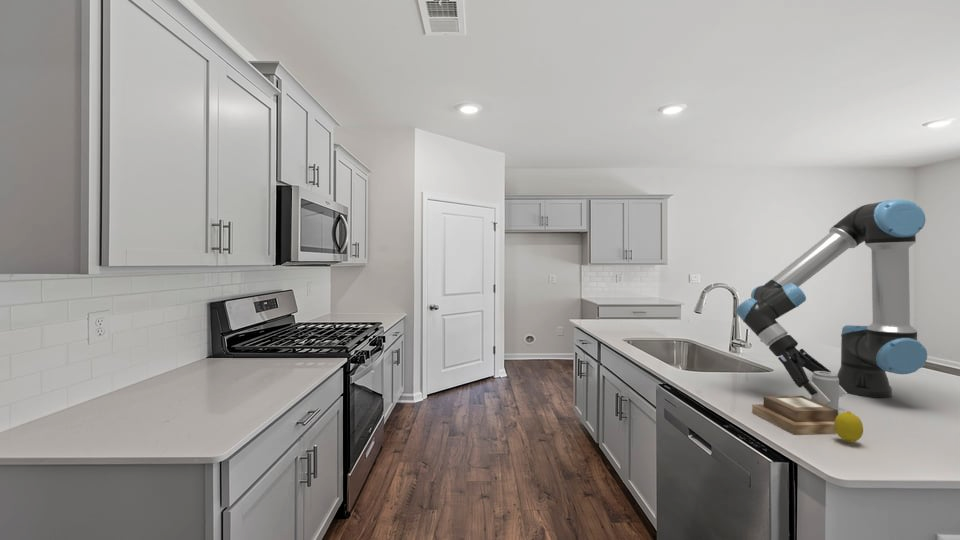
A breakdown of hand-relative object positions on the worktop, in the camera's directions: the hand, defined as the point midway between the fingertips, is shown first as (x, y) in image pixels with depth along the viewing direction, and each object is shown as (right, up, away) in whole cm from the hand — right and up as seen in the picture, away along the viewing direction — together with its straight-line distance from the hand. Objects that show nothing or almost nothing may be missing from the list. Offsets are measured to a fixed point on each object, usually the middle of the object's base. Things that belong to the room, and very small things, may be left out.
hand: (834, 399), depth 127 cm
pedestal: (-15, -5, -6) cm, 17 cm away
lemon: (-12, -5, -19) cm, 23 cm away
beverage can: (-1, -5, +2) cm, 5 cm away
